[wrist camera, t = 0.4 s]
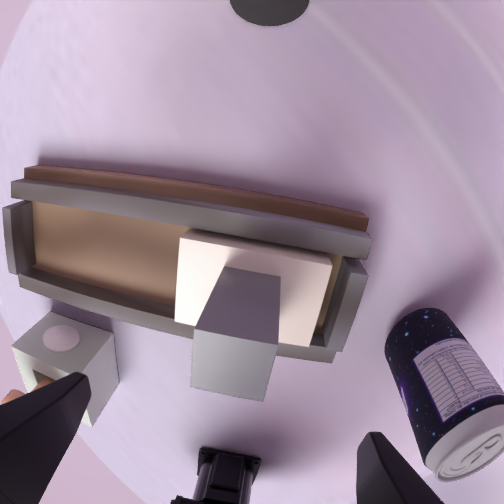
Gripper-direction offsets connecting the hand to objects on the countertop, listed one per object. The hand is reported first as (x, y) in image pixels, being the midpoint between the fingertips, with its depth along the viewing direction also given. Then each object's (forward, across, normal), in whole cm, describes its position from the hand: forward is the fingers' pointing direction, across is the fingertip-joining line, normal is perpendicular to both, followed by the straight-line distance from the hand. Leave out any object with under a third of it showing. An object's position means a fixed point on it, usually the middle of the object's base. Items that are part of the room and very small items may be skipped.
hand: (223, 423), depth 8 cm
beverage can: (+13, -13, +3) cm, 19 cm away
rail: (+13, +6, 0) cm, 14 cm away
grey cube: (+13, +14, +11) cm, 22 cm away
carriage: (+11, 0, 0) cm, 11 cm away
